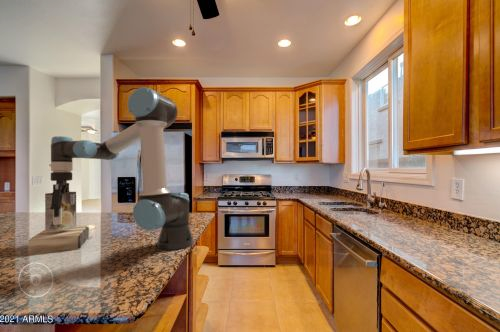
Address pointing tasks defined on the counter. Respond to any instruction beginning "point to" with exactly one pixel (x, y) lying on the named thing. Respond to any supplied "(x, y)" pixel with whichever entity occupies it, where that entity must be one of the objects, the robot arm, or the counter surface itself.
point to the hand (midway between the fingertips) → (61, 221)
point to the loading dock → (58, 240)
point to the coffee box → (67, 212)
